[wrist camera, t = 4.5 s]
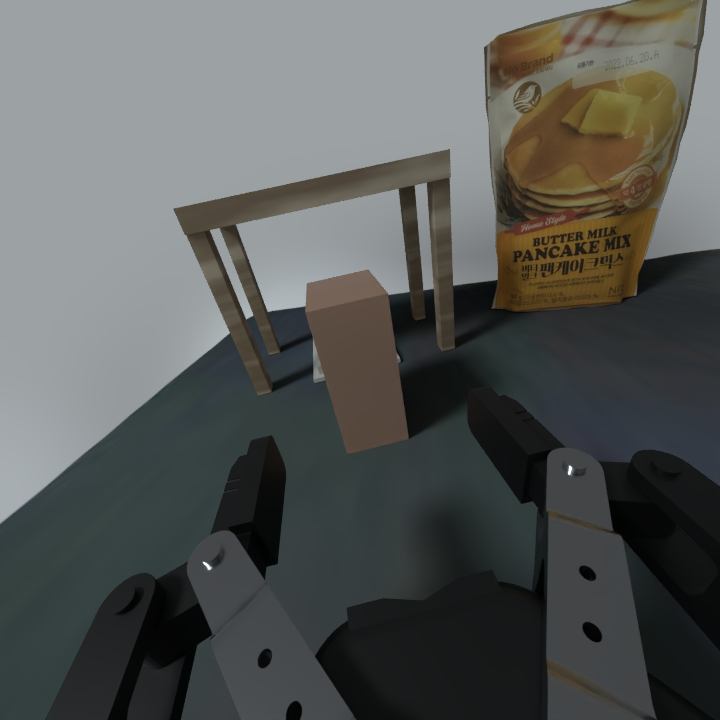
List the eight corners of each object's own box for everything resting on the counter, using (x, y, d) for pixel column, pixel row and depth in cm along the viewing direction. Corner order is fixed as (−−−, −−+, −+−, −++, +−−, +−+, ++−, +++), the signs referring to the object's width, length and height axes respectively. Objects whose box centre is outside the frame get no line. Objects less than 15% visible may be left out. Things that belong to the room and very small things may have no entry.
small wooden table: (455, 349, 34) (449, 149, 24) (257, 396, 33) (173, 208, 24) (421, 314, 44) (408, 164, 35) (270, 349, 43) (215, 206, 34)
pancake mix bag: (477, 299, 45) (479, 48, 31) (629, 284, 40) (712, -26, 26) (483, 317, 39) (489, 21, 26) (660, 302, 34) (787, -81, 20)
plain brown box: (408, 439, 23) (387, 293, 17) (347, 454, 23) (305, 312, 17) (388, 389, 29) (368, 269, 24) (340, 401, 29) (306, 283, 23)
